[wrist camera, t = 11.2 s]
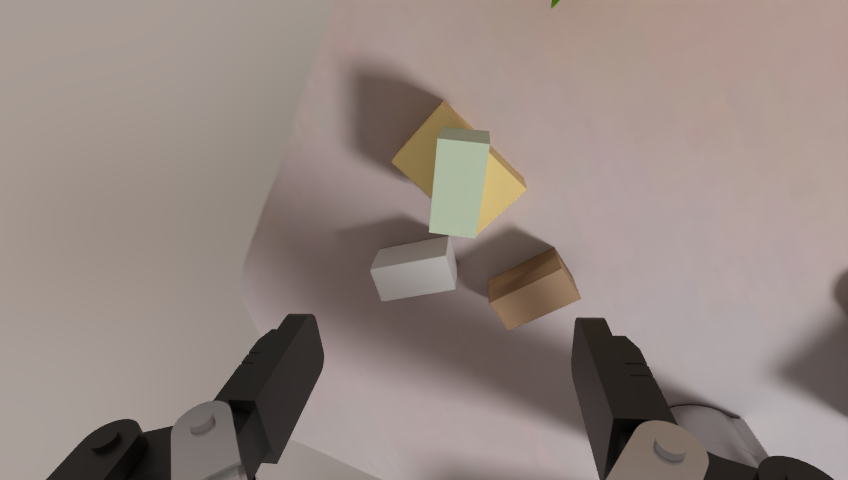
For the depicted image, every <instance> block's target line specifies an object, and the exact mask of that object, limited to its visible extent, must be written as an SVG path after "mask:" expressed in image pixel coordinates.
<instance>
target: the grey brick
mask: <svg viewBox="0 0 848 480" xmlns="http://www.w3.org/2000/svg"><path fill="white" fill-rule="evenodd" d="M457 269H458V267H457V263H456V260H455V256H454V252H453V249H452V245H451V242H450V238H449V236H444V237H439V238H434V239H429V240H424V241H419V242H414V243H409V244H404V245H399V246H394V247H389V248H384V249H379V251H378V253H377V255H376V257H375V259H374V262H373V264H372V266H371V268H370V272H371V275H372V277H373V280H374V283H375V285H376V288H377V291H378V293H379V296H380V298H381V301H382V302H384V301H390V300H396V299H402V298H408V297H414V296H420V295H426V294H432V293H438V292H444V291H450V290H456V279H457Z"/></svg>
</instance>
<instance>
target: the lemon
mask: <svg viewBox="0 0 848 480" xmlns="http://www.w3.org/2000/svg"><path fill="white" fill-rule="evenodd" d="M558 2H559V0H552V5H551V8H553V7H554V6H555V5H556V4H557V3H558Z"/></svg>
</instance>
